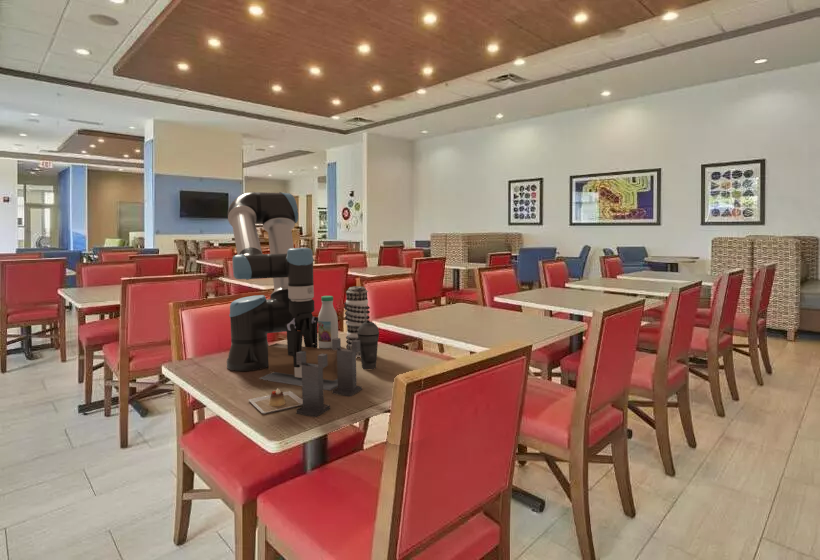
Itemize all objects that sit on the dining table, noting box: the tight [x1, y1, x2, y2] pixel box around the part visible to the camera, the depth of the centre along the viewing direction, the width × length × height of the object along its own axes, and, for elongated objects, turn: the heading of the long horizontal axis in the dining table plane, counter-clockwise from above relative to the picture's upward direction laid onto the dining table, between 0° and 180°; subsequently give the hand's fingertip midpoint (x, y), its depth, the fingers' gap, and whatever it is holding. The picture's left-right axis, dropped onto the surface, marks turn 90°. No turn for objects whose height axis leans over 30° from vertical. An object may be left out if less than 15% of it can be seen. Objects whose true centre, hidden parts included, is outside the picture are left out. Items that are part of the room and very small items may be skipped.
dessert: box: [247, 387, 303, 415], centre depth 128 cm, size 12×12×5 cm
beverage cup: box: [357, 308, 380, 370], centre depth 159 cm, size 7×7×20 cm
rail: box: [268, 343, 338, 381], centre depth 147 cm, size 4×24×8 cm, turn 65°
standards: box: [295, 337, 363, 418], centre depth 129 cm, size 8×22×15 cm, turn 155°
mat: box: [259, 372, 338, 391], centre depth 148 cm, size 26×10×1 cm, turn 65°
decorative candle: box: [344, 285, 371, 357], centre depth 176 cm, size 9×9×25 cm
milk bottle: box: [317, 295, 339, 350], centre depth 188 cm, size 8×8×20 cm
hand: (304, 374), depth 148 cm, fingers open, 4 cm apart
